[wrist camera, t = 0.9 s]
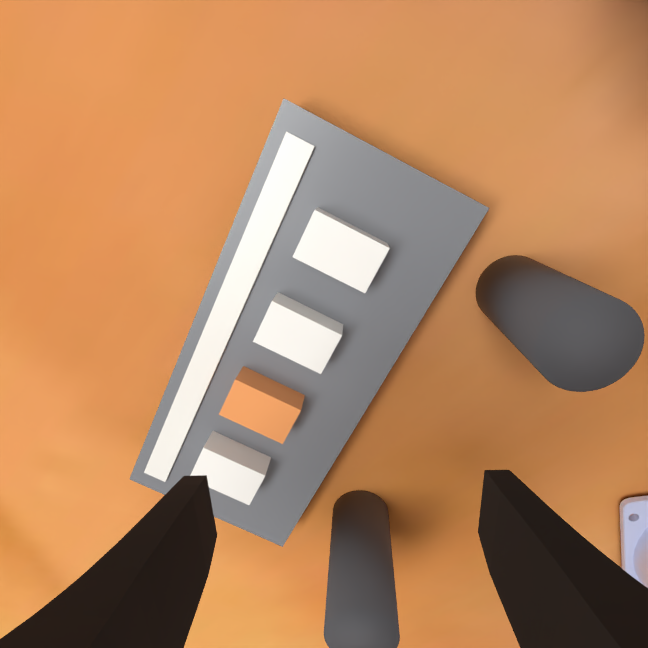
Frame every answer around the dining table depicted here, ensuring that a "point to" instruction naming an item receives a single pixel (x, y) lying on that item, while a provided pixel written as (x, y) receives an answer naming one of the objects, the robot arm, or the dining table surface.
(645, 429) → the dining table surface
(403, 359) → the dining table surface
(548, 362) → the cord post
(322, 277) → the breaker panel
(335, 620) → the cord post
